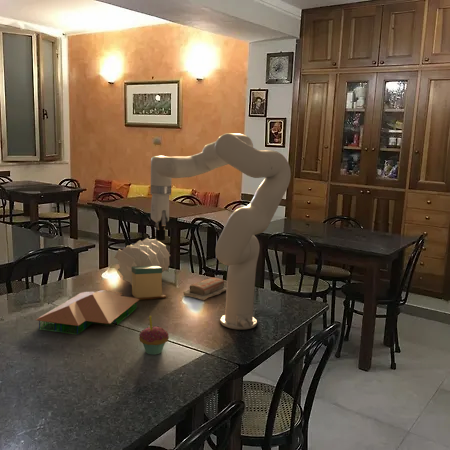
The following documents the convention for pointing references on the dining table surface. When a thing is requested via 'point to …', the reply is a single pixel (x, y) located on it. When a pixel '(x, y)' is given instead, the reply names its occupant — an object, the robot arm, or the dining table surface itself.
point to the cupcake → (153, 338)
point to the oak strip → (151, 297)
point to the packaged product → (206, 288)
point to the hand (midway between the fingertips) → (160, 239)
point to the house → (89, 310)
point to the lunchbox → (146, 281)
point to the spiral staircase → (142, 257)
